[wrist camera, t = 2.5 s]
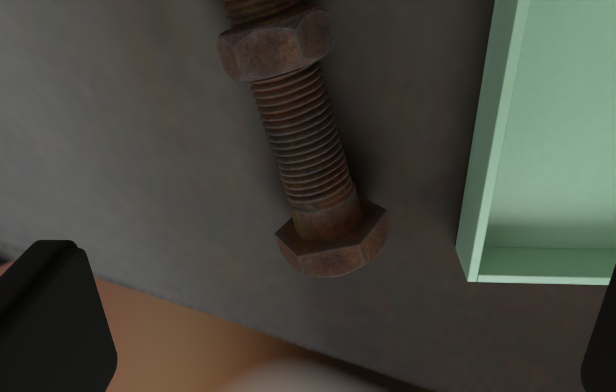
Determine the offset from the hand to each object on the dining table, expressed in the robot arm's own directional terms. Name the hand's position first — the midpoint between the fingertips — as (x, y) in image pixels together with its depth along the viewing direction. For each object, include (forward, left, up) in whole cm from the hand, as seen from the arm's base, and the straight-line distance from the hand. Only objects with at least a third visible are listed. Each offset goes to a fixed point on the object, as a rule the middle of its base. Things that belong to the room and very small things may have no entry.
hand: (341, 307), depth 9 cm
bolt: (-2, -1, -17) cm, 17 cm away
